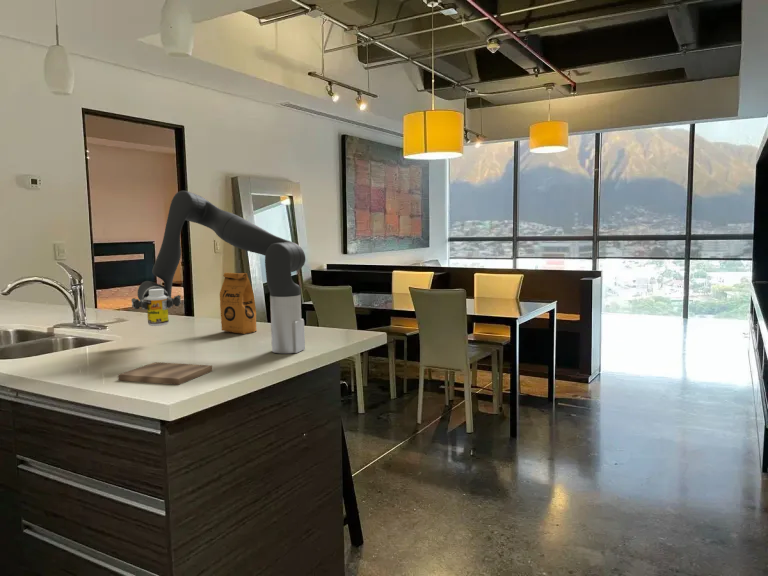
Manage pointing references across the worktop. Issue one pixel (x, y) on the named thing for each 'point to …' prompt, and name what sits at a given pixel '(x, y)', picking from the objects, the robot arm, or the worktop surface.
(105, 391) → the worktop surface
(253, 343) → the worktop surface
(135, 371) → the walnut board
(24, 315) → the worktop surface
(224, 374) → the worktop surface
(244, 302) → the coffee package
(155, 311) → the supplement bottle
